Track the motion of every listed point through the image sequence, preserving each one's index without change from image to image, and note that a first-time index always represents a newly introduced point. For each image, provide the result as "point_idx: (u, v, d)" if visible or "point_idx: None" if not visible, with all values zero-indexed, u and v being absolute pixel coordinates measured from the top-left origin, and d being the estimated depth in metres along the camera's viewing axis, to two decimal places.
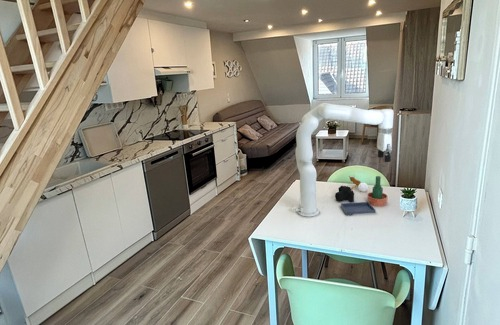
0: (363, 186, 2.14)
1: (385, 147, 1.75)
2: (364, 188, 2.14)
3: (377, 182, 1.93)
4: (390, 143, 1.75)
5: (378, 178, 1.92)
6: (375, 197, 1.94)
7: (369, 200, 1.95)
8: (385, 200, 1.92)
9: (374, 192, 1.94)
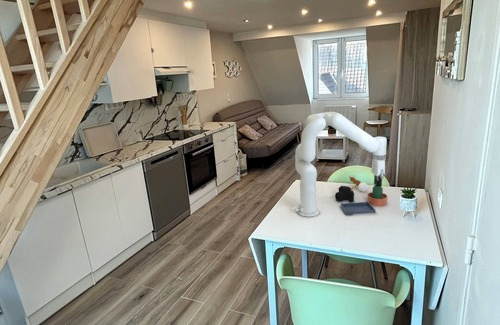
0: (363, 186, 2.14)
1: (379, 172, 1.87)
2: (364, 188, 2.14)
3: None
4: (383, 169, 1.86)
5: None
6: (375, 197, 1.94)
7: (369, 200, 1.95)
8: (385, 200, 1.92)
9: (374, 192, 1.94)
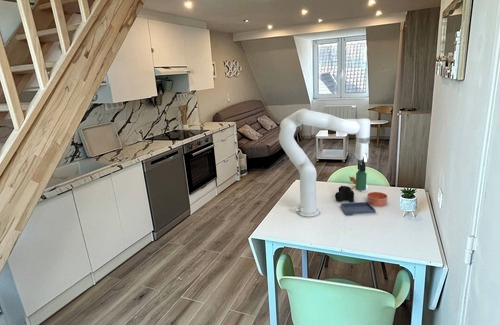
0: None
1: (362, 156, 1.77)
2: None
3: None
4: (367, 152, 1.76)
5: None
6: (358, 183, 1.84)
7: (369, 200, 1.95)
8: (385, 200, 1.92)
9: (357, 177, 1.84)
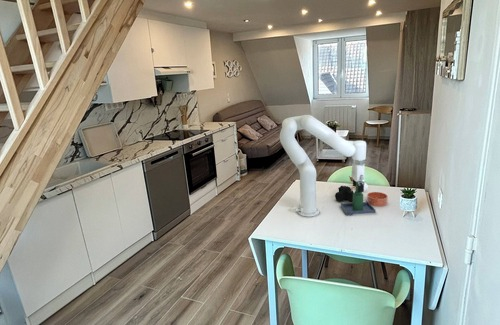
0: None
1: (358, 178, 1.79)
2: (364, 188, 2.14)
3: (357, 188, 1.85)
4: (363, 174, 1.79)
5: (358, 184, 1.84)
6: (355, 204, 1.87)
7: (369, 200, 1.95)
8: (385, 200, 1.92)
9: (354, 198, 1.87)
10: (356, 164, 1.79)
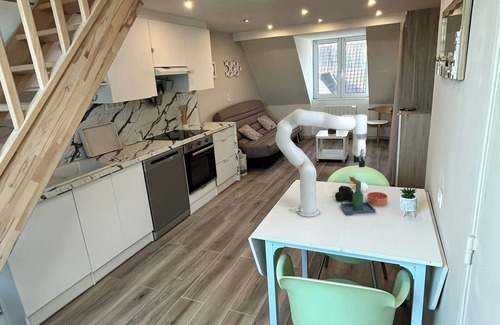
0: (363, 186, 2.14)
1: (359, 152, 1.75)
2: (364, 188, 2.14)
3: (357, 188, 1.85)
4: (364, 148, 1.75)
5: (358, 184, 1.84)
6: (355, 204, 1.87)
7: (369, 200, 1.95)
8: (385, 200, 1.92)
9: (354, 198, 1.87)
10: (357, 138, 1.75)
